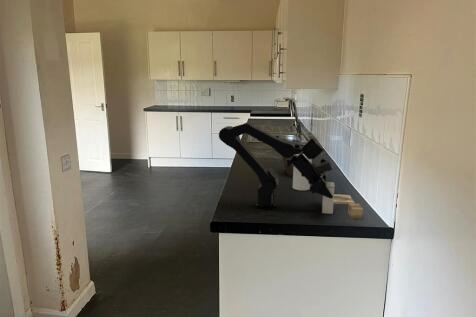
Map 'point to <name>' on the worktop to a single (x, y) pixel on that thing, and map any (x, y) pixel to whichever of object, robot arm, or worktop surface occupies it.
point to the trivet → (343, 199)
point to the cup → (300, 179)
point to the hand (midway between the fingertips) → (331, 195)
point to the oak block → (355, 211)
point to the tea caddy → (328, 199)
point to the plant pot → (291, 167)
